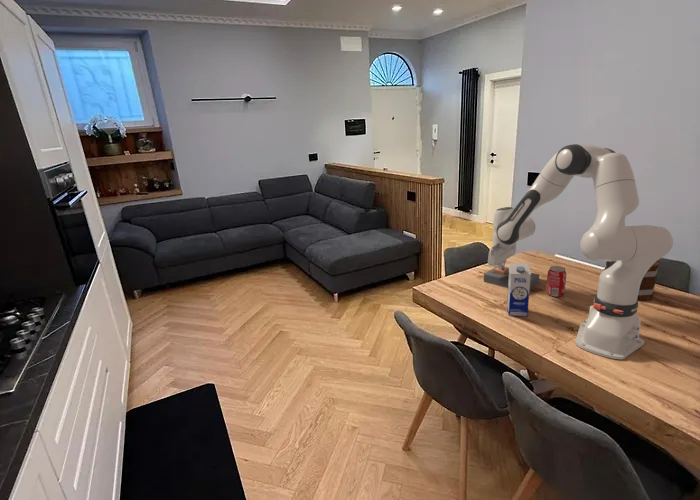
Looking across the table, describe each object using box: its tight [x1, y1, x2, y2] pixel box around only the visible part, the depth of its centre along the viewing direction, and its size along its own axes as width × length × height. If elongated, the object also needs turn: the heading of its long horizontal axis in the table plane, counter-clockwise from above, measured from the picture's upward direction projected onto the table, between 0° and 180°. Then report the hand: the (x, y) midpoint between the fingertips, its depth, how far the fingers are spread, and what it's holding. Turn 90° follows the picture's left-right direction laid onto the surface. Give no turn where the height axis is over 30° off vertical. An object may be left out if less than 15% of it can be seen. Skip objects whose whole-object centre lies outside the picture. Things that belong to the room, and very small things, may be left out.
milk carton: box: [506, 262, 532, 318], centre depth 147 cm, size 7×7×20 cm
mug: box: [605, 260, 661, 302], centre depth 157 cm, size 20×14×15 cm
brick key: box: [494, 267, 509, 275], centre depth 179 cm, size 5×5×3 cm
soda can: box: [545, 265, 567, 298], centre depth 160 cm, size 7×7×12 cm
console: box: [483, 265, 541, 290], centre depth 176 cm, size 14×20×4 cm
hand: (501, 268), depth 179 cm, fingers closed, pressing on brick key
